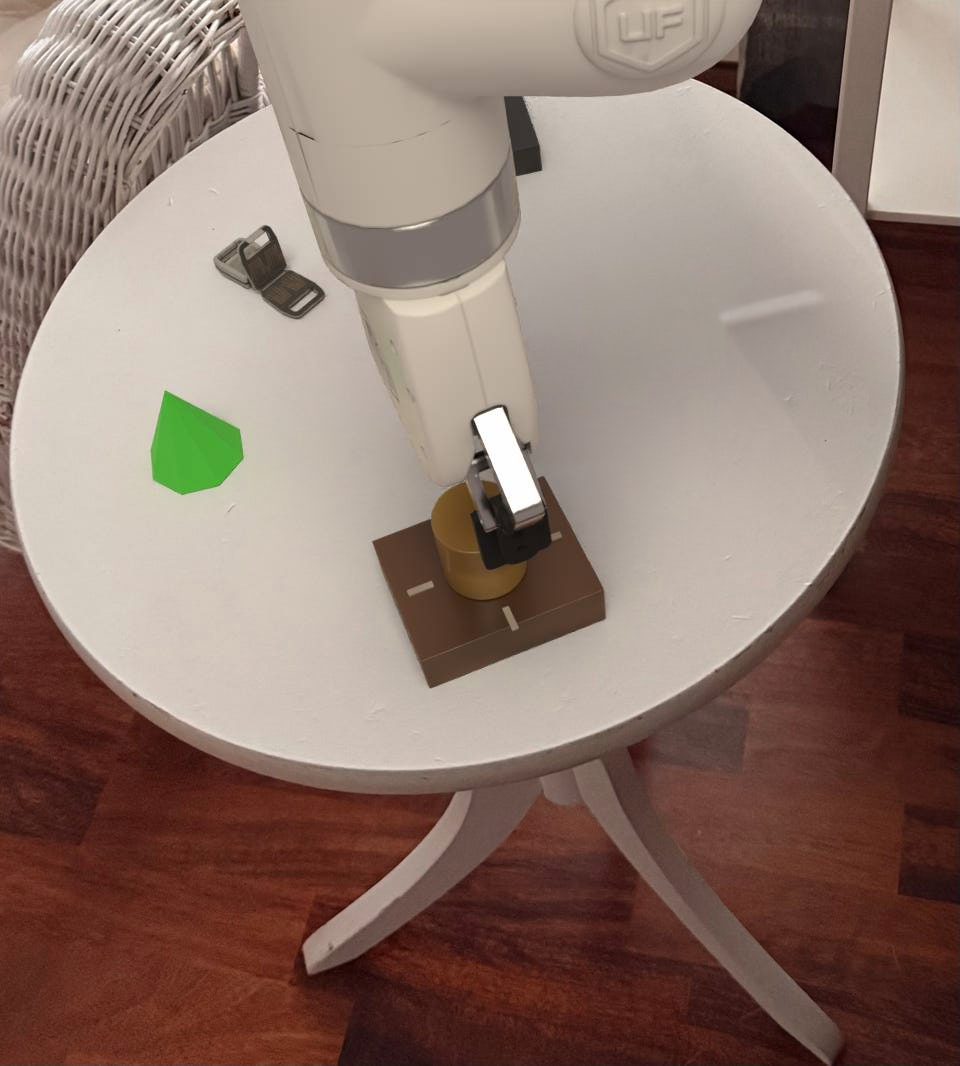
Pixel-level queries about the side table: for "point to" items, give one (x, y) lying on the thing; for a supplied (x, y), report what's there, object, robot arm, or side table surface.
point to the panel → (495, 624)
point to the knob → (468, 547)
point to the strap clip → (267, 272)
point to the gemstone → (192, 447)
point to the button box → (522, 136)
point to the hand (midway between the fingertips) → (479, 475)
